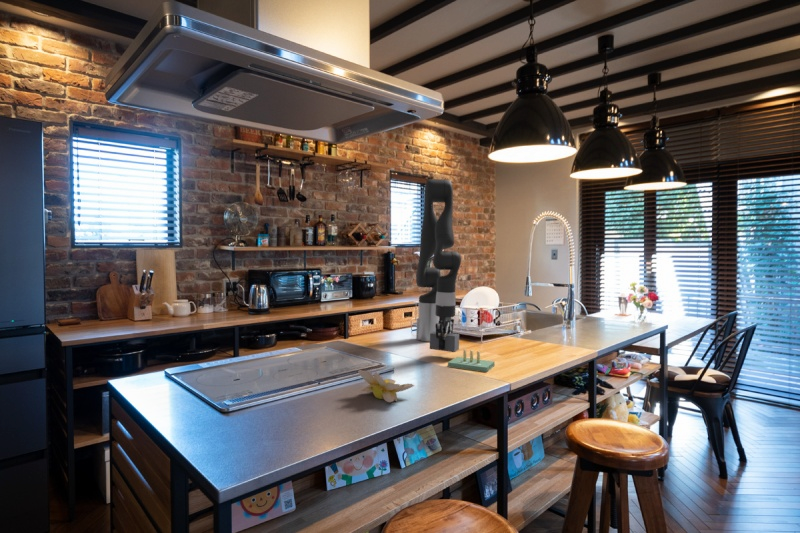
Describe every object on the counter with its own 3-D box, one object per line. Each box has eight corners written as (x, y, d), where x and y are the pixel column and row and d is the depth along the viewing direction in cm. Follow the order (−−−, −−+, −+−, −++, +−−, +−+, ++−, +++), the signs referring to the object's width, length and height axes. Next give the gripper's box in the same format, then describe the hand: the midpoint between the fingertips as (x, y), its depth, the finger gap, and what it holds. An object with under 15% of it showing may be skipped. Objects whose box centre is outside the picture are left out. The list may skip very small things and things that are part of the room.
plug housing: (429, 348, 172) (430, 333, 172) (434, 346, 176) (435, 331, 176) (454, 352, 167) (454, 336, 167) (458, 349, 172) (459, 334, 172)
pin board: (447, 366, 158) (448, 351, 158) (457, 360, 167) (457, 346, 167) (486, 372, 152) (487, 355, 152) (494, 365, 161) (494, 350, 161)
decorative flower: (424, 393, 121) (417, 358, 120) (393, 412, 114) (385, 375, 113) (389, 384, 133) (382, 352, 131) (359, 401, 125) (351, 367, 124)
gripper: (443, 300, 179) (441, 343, 180) (429, 304, 166) (427, 350, 167) (461, 302, 176) (459, 345, 177) (448, 306, 163) (446, 353, 164)
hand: (444, 347), depth 172 cm, fingers closed on plug housing, 5 cm apart
